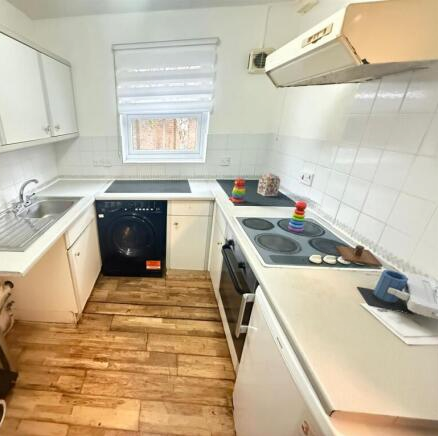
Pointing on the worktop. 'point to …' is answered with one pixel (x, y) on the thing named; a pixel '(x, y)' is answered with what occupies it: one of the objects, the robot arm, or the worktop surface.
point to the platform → (357, 259)
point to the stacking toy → (298, 217)
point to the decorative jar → (268, 185)
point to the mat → (382, 301)
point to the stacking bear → (238, 191)
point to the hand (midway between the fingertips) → (387, 283)
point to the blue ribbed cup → (390, 285)
